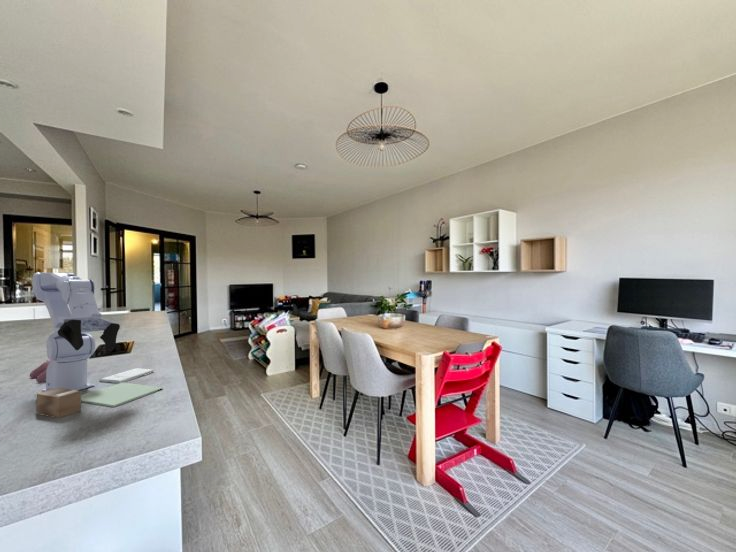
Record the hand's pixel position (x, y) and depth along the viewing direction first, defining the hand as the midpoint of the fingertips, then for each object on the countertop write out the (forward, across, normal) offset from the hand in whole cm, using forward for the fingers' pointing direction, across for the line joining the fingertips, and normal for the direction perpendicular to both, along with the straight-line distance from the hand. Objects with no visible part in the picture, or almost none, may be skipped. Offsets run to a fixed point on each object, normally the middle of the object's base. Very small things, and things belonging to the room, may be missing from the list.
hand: (96, 348), depth 82 cm
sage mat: (+7, +11, +11) cm, 17 cm away
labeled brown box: (+8, -2, +14) cm, 17 cm away
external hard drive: (-6, +22, +20) cm, 31 cm away
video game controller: (-21, +11, +38) cm, 45 cm away
